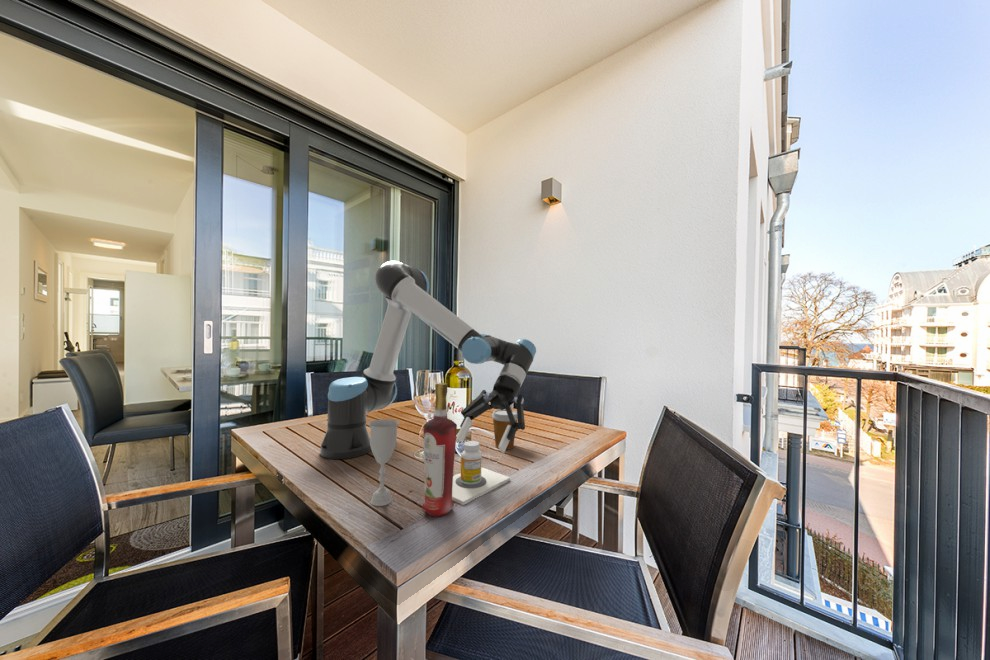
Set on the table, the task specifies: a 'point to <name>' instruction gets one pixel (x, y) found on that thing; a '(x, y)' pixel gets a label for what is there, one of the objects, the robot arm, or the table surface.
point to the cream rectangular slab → (476, 486)
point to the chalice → (382, 454)
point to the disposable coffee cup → (502, 426)
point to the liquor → (439, 457)
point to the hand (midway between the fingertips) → (479, 444)
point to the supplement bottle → (471, 463)
